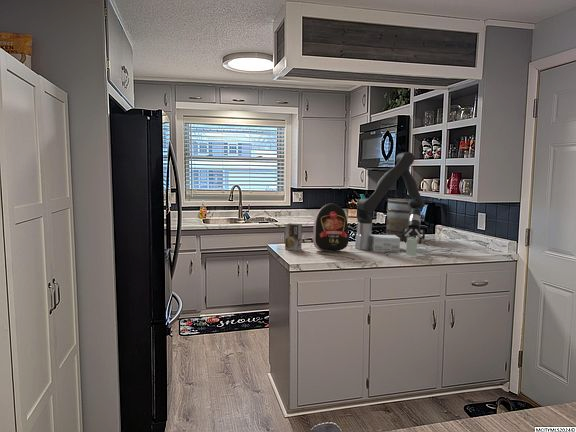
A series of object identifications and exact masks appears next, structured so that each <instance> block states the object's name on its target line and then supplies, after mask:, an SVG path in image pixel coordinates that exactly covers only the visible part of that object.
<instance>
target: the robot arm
mask: <svg viewBox="0 0 576 432" xmlns="http://www.w3.org/2000/svg"><path fill="white" fill-rule="evenodd" d="M414 160H415V154H413V153H412V152H409V151H407V152H406V151H405V152H401V153H398V154H397V155H396V158H395V162H396V165H394V166H393V167H392V168H391V169H389V170H387V171H386V172H385V173H384V174H383V175H382V176H381V177H380V178H379V179H378V181H377V183H376V185H375V189H374V192H373V193H371V195H370V197H366V198H365V197H364V198H363V197H362V198H359V200H358V201H357V203H356V218H357V228H356V229H357V231H356V234H355V246H354V247H355V248H354V249H357V250H359V251H360V250H365V251H367V250H372V249H371V235H372V230H373V219H372V217H371V216H370V214H371V213H373V212H374V211H375V210H376V209H377V208H378V206H379V204H380V202H381V201H382V199H383V198H384V197H385V196H386V195H387V193H388V192H389V191H390V190H391V189H392V187H393V186H394V185H395V184H396V182H397V181H398V179H400V177H402V179H403V182H404V184H405V188H406V191H407V194H408V195H407V196H409V197H414V198H412V200H410V201H409V202H408V206H409V209H410V217H409V223H408V229H405V228H403V231H402V237H404V241H403V242H404V243H405V244H407V241H406V240H407V237H409V236H410V235H411V236H416V238H418V244H419V245H420V244H422V240H425V237H426V230H425V229H421V224H422V223H421V216H422V212H421V210H420V209H423V208H424V207H425V200H424V199H423V197H422V195H421V194H420V191H419V189H418V185H417V182H416V180H415V178H414V177H413V175H412V173H411V171H410V169H409V168H410V167H411V166H412V165H413V163H414ZM406 231H407V234H405V235H404V232H406ZM421 234H422V235H421Z"/></svg>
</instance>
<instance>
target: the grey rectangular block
mask: <svg viewBox="0 0 576 432" xmlns="http://www.w3.org/2000/svg"><path fill="white" fill-rule="evenodd" d="M418 240H419V238H418V237H416V238H414V237H411V238H409V237H408V238H407V241H406V251H405V252H406V255H414V256H416V253H417V249H418ZM416 257H417V256H416Z"/></svg>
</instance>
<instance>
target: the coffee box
mask: <svg viewBox="0 0 576 432" xmlns="http://www.w3.org/2000/svg"><path fill="white" fill-rule="evenodd" d="M302 237H303V224H300V223H292V222H291V223H290V222H289V223H287V224H285V237H284V239H285V240H284V242H285V243H284V244H285V245H284V250H289V251H300V250H302V239H303V238H302Z"/></svg>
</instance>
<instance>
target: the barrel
mask: <svg viewBox="0 0 576 432" xmlns="http://www.w3.org/2000/svg"><path fill="white" fill-rule="evenodd" d="M412 199H413V198H412ZM412 199H411V198H387V212H386V213H387V214H386V229H385V235H396V236H397V237H399V238H400V242H404V237H402V231H403V228H405V229H408V223H409V217H410V209H409V206H408V202H409V201H410V200H412ZM405 234H407V231H406V232H404V235H405ZM411 237H414V238H417V236H411V235H410V236H409V238H411ZM407 238H408V237H407ZM406 242H407V240H406Z"/></svg>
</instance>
